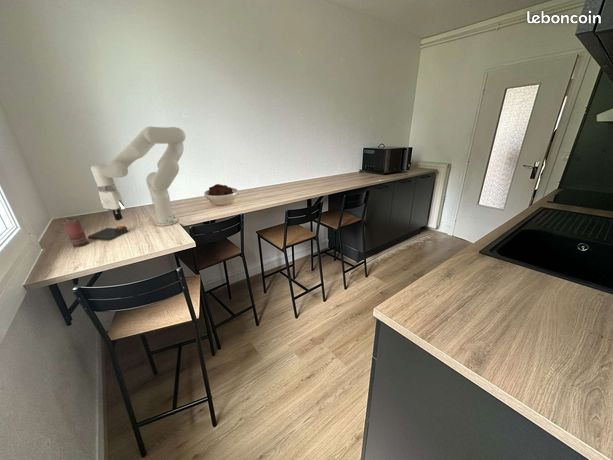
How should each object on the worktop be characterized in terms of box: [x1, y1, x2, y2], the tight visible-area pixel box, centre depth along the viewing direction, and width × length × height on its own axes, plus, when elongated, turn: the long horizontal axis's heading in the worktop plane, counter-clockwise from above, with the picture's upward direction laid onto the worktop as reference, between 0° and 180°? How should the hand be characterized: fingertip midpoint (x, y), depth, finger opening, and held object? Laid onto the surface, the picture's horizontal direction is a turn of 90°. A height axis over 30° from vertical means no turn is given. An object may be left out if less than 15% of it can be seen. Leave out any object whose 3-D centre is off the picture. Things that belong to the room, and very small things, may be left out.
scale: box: [86, 225, 128, 241], centre depth 142 cm, size 15×13×3 cm
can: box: [62, 217, 89, 248], centre depth 129 cm, size 6×6×14 cm
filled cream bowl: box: [203, 183, 239, 206], centre depth 192 cm, size 25×25×15 cm
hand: (119, 219), depth 143 cm, fingers closed
